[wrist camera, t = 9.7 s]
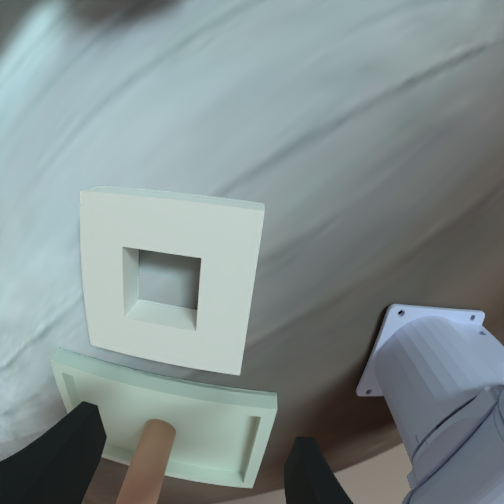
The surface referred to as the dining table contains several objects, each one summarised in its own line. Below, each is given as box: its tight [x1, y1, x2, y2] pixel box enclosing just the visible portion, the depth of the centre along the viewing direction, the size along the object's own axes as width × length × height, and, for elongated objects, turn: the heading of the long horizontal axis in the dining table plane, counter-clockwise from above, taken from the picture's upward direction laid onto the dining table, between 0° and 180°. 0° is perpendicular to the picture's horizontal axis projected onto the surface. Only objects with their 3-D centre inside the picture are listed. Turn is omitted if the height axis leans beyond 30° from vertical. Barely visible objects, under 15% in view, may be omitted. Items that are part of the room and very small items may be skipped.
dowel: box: [116, 419, 176, 504], centre depth 18 cm, size 3×3×9 cm
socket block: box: [80, 186, 265, 375], centre depth 17 cm, size 10×10×2 cm
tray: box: [50, 348, 277, 488], centre depth 22 cm, size 18×13×2 cm
